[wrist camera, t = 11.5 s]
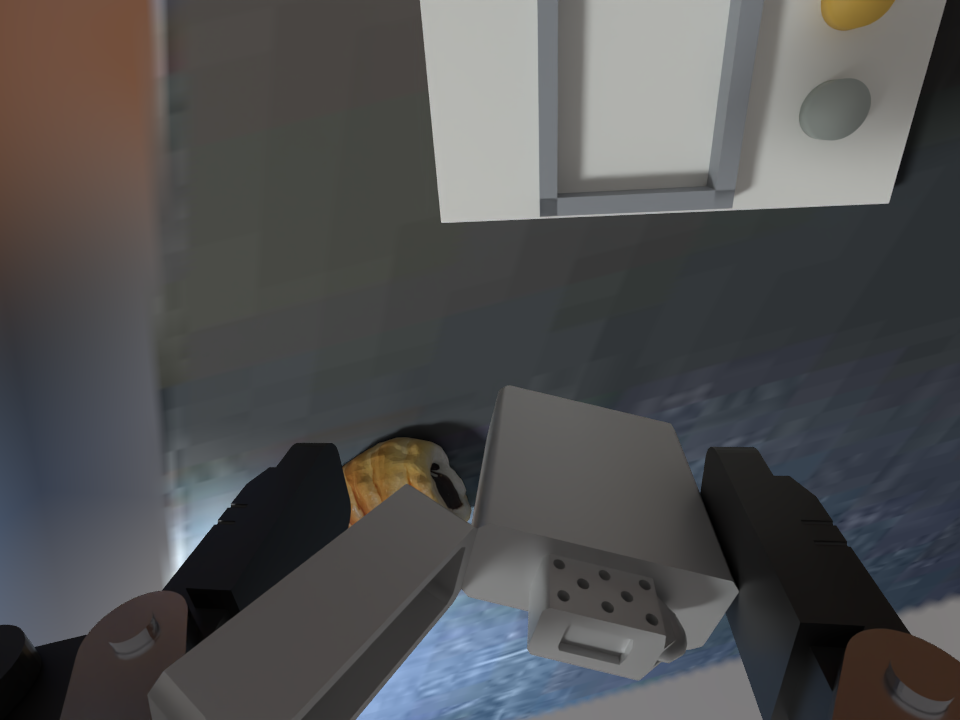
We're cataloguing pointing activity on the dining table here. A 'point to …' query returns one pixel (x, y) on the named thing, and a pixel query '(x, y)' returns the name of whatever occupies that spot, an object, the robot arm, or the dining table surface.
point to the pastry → (403, 476)
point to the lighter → (483, 572)
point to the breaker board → (670, 103)
